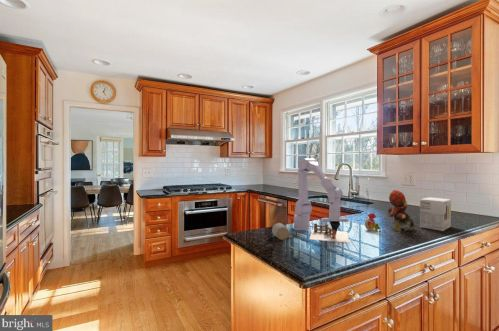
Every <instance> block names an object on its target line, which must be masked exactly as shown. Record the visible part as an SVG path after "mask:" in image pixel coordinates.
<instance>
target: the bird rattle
mask: <svg viewBox="0 0 499 331" xmlns="http://www.w3.org/2000/svg"><path fill="white" fill-rule="evenodd" d="M367 217H368V218H366V220H365V221H364V226H365V228H366V230H368V231H373V230H374V231H376V232H377V231H378V230H381V227H380V224H379V223H378V222H377V223H376V220H375V218H377V215H375V213H374V212H373V213H369V214H367Z"/></svg>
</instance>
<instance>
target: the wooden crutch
mask: <svg viewBox="0 0 499 331" xmlns="http://www.w3.org/2000/svg"><path fill="white" fill-rule="evenodd" d="M327 228H328V230H327V232H328V233H329V235H332V238H336V230H334V229H332V227H331V226H329V225H328V226H327Z"/></svg>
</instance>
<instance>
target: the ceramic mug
mask: <svg viewBox="0 0 499 331" xmlns="http://www.w3.org/2000/svg"><path fill="white" fill-rule="evenodd" d="M271 231H272V234H273V236H274V237H276V238H277V239H278V240H281V241H284V240H286V239H288V238H289V239H292V238H293V237H294V235H293V234H291V233H290V232H289V229H288V228H287V226H285V225H284V224H283V223H281V222H277V223H274V225H273V226H272V230H271Z"/></svg>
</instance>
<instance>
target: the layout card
mask: <svg viewBox="0 0 499 331" xmlns="http://www.w3.org/2000/svg"><path fill="white" fill-rule="evenodd" d="M309 240H314V241H325V242H327V241H328V242H338V243H350V240H349V232H348V231H339V230H337V232H336V238H332V235H329V233H325V231H322V232H320V231H317V232H314V228H313V229H312V230H311V234H310V237H309Z"/></svg>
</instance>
